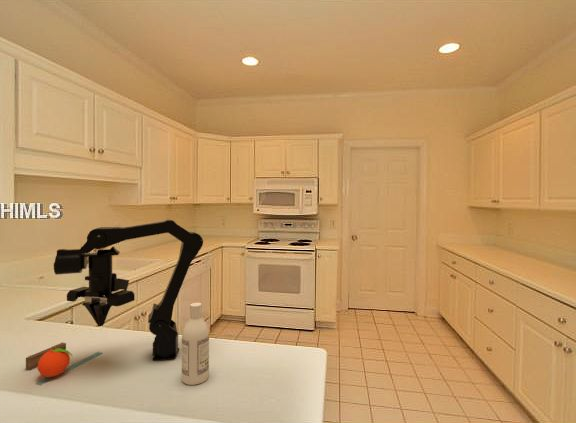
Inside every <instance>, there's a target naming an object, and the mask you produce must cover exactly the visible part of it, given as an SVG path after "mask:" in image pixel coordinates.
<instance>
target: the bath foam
mask: <svg viewBox="0 0 576 423" xmlns="http://www.w3.org/2000/svg"><path fill="white" fill-rule="evenodd" d="M209 364H210V331H209V326H208V324H207V322H206V321H205V320H204V318H203V317H202V303H201V302H193V303H191V304H189V319H188V320H187V322H186V324H185V325H184V327H183V330H182V335H181V380H182V382H183V384H185V385H188V386H194V385H199V384H202V383H203V382H205V381H206V380H207V379H208V378H209V374H210V368H209V367H210V365H209Z"/></svg>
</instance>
